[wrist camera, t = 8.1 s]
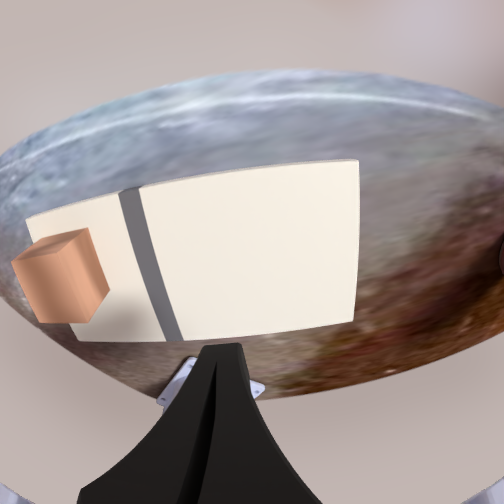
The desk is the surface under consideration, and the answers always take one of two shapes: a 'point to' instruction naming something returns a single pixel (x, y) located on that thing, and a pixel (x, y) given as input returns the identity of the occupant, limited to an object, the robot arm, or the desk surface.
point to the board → (221, 252)
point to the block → (62, 277)
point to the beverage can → (502, 258)
